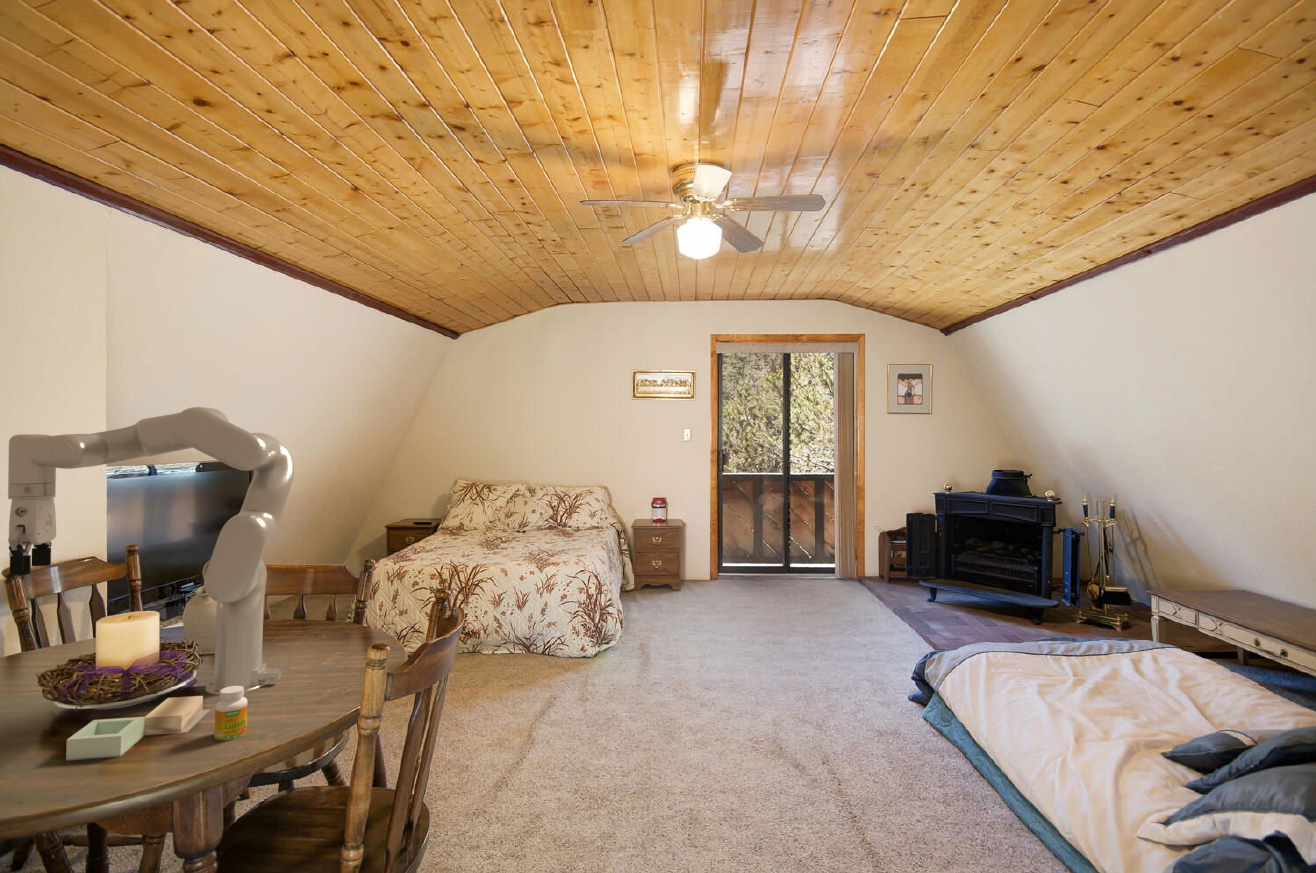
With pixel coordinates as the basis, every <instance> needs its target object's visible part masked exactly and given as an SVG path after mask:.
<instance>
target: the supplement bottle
mask: <svg viewBox="0 0 1316 873" xmlns="http://www.w3.org/2000/svg"><path fill="white" fill-rule="evenodd" d="M244 695H245V692H244V687H242V686H230V687H226V688H223V689H222V690H221V691H220V695H219V699H220V700H218V701H217V703H216V704H215V706H214V707H215V708H214V709H215V710H214V712H215V713H214V737H213V738H214V739H215V740H216V741H219V742H220V741H223V742H225V741H226V742H227V741H232V740H236V739H239V738H241V737H243V736H245V735H247V731H248V704H249V703H248V699H247V698H246V697H245V696H244Z"/></svg>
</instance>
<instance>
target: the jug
mask: <svg viewBox="0 0 1316 873" xmlns="http://www.w3.org/2000/svg"><path fill="white" fill-rule="evenodd" d="M210 560H211V559H209V560H208V561H206V563H204V566H203V568H202V578H203V580H204V579H205V575H206V572H207V569H208V566H209V563H210ZM216 607H217V601H214V600H213V599H211V598H210V597H209V595H208V594H207V592H206V590H205V587H204V585H202V586H199V587H198V588H197V589H196V591H195V595H193V596H192V597H191V598H190V599H189V600H188V602H187V603H186V605H185V607H184V609H183V614H182V625H183V631H184V635H185V641H186V640H194V641H196V643H197V644H198V645H199V646H200V649H201V656H203V655H204V656H205V655H215V626H216Z"/></svg>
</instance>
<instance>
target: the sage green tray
mask: <svg viewBox="0 0 1316 873" xmlns="http://www.w3.org/2000/svg"><path fill="white" fill-rule="evenodd" d="M144 717H145V716H137V717H119V718H118V717H117V718H104V719H93V720H91V721H90V722H89V723H88V724H87V725H85V726H84V727H82V728H81V729H80V730H78V731H77V732H75V733H74V734H72V735H71V736H70V737H68V738H67V739H66V747H65V748H66V750H65V751H66V753H65V755H66V756H65V760H66V761H77V760H79V761H81V760H89V759H90V760H92V759H106V758H117V757H120V758H121V757H122V756H123V755H124V754H125V753H126V752H127V751H129V749H131V748H132V747H133V746H135V745H136V744H137V743H138V742H139V741H140V740H141V739H143V738H144V737H145V735H144Z"/></svg>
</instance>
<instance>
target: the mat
mask: <svg viewBox="0 0 1316 873" xmlns="http://www.w3.org/2000/svg"><path fill="white" fill-rule="evenodd" d="M209 711H210V709H203V711H202V712H201V713H200V714H199V715H198V716H197V717H196V718H195V719H194V720H193V721H192V722H191V723H190V724H188V725H187V726H186V727H185V728H184V729H183V730H182V731H181V732H166V733H152V734H144V736H154V735H155V736H157V735H165V734H167V735H170V734H180V733H182V734H183V733H184V734H185V733H188V732H189V731H190V730H192V728H193V727H195V725H196V724H197V723H198V722H199V721H201V719H202V718H203V717H204V716H206V714H208V713H209Z"/></svg>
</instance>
